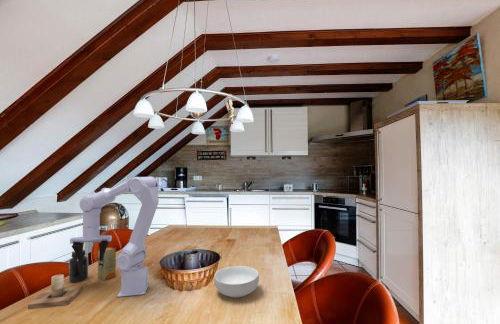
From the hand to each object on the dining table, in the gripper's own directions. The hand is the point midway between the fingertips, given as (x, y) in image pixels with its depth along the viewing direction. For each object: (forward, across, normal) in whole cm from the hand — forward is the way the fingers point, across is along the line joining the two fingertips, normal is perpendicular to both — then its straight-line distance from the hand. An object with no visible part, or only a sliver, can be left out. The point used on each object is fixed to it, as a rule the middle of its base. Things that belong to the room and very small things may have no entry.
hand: (91, 260), depth 104 cm
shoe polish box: (+11, -3, -9) cm, 14 cm away
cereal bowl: (+11, -56, +18) cm, 60 cm away
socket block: (+10, +8, +8) cm, 15 cm away
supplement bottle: (+11, +8, -9) cm, 16 cm away
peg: (+10, +8, +8) cm, 15 cm away
